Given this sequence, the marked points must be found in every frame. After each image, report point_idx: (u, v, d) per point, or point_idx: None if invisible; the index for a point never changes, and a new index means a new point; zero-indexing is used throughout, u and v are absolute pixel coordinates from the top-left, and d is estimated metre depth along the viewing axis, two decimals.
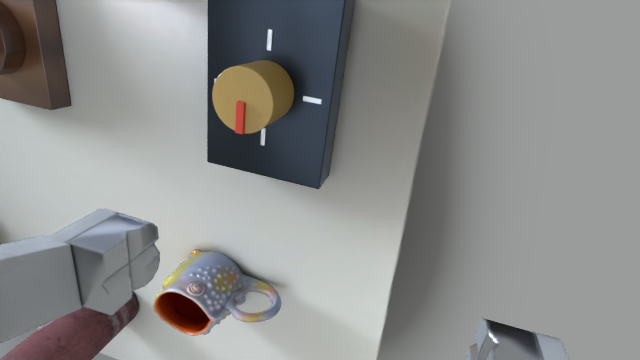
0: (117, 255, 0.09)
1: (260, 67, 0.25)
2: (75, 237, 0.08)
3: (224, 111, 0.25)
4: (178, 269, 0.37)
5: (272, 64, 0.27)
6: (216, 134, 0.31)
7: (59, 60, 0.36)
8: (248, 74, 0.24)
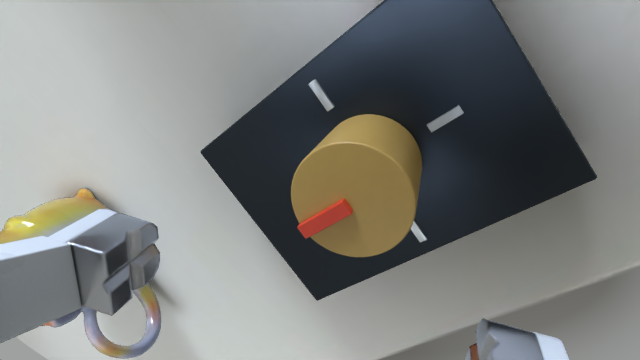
0: (117, 255, 0.09)
1: (415, 174, 0.13)
2: (75, 237, 0.08)
3: (308, 187, 0.13)
4: (46, 218, 0.23)
5: (419, 157, 0.15)
6: (245, 138, 0.18)
7: None
8: (400, 188, 0.12)
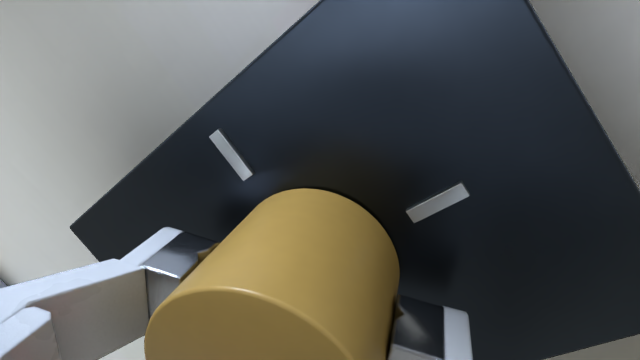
0: None
1: (379, 328, 0.07)
2: (147, 260, 0.08)
3: (172, 355, 0.07)
4: None
5: (392, 269, 0.09)
6: (128, 212, 0.12)
7: None
8: None
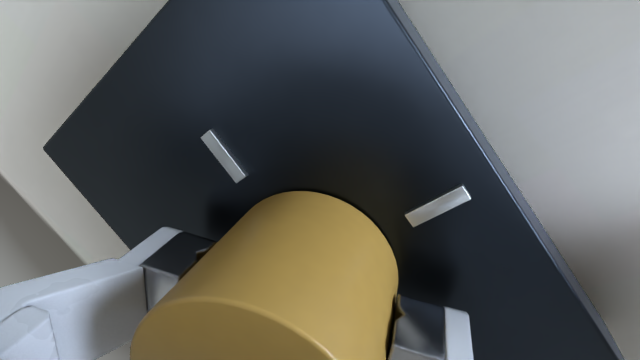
0: None
1: (379, 345, 0.07)
2: (146, 259, 0.08)
3: None
4: None
5: (393, 281, 0.08)
6: (341, 17, 0.07)
7: None
8: None
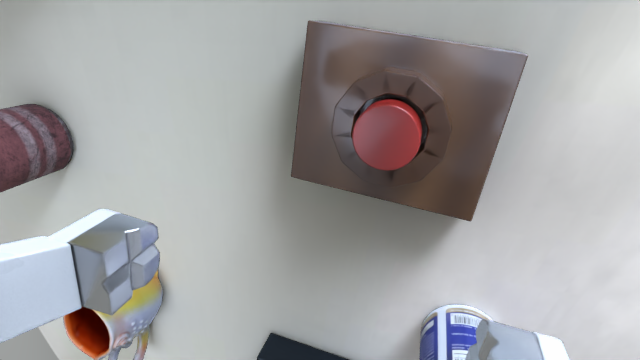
0: (117, 255, 0.09)
1: None
2: (75, 237, 0.08)
3: None
4: (132, 299, 0.33)
5: None
6: None
7: None
8: None
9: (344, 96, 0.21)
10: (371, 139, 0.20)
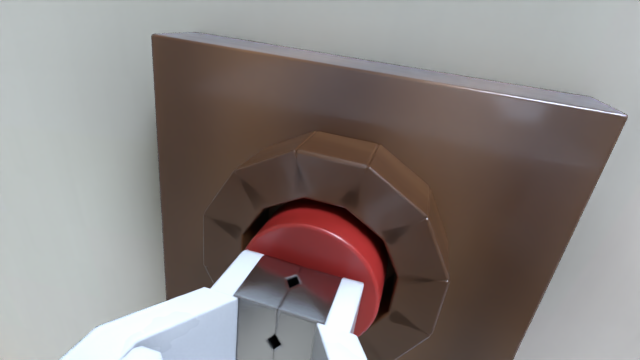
0: None
1: None
2: (238, 288, 0.08)
3: None
4: None
5: None
6: None
7: None
8: None
9: (218, 197, 0.10)
10: None
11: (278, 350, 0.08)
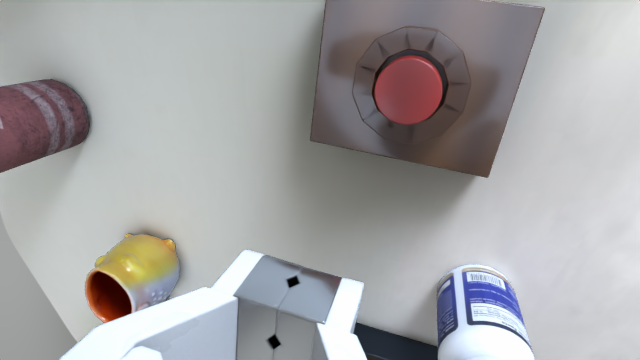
0: None
1: None
2: (238, 288, 0.08)
3: None
4: (151, 270, 0.34)
5: None
6: None
7: None
8: None
9: (365, 54, 0.22)
10: (393, 94, 0.21)
11: (278, 350, 0.08)
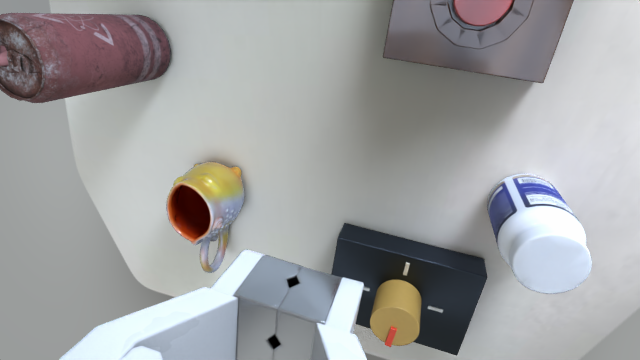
0: None
1: (408, 302, 0.34)
2: (238, 288, 0.08)
3: (378, 329, 0.35)
4: (225, 189, 0.38)
5: (410, 289, 0.36)
6: (363, 251, 0.37)
7: None
8: (403, 313, 0.33)
9: None
10: None
11: (278, 350, 0.08)
